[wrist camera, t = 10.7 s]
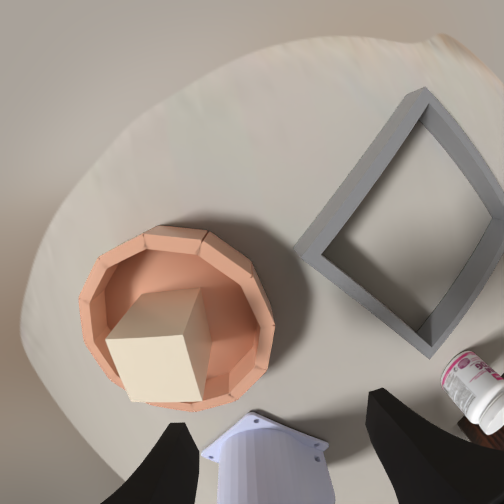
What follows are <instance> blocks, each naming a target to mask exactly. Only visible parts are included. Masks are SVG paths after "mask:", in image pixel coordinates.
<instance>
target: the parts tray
mask: <svg viewBox="0 0 504 504" xmlns="http://www.w3.org/2000/svg"><path fill="white" fill-rule="evenodd" d="M418 119H419V120H420V121H421V122H422V124H423V125H424V126H425V127H426V128H427V129H428V130H429V131H430V133H431V134H432V135H433V136H434V137H435V138H436V139H437V141H438V142H439V143H440V144H441V145H442V147H443V148H444V149H445V150H446V152H447V153H448V154H449V155H450V157H451V158H452V159H453V160H454V162H455V163H456V164H457V166H458V167H459V168H460V170H461V171H462V172H463V174H464V175H465V177H466V178H467V179H468V181H469V182H470V184H471V185H472V186H473V188H474V189H475V191H476V192H477V194H478V195H479V197H480V198H481V200H482V202H483V203H484V205H485V206H486V208H487V209H488V211H489V213H490V214H491V216H492V218H493V219H492V220H491V222H490V224H489V226H488V228H487V230H486V232H485V233H484V235H483V237H482V239H481V241H480V242H479V244H478V246H477V247H476V249H475V251H474V252H473V254H472V256H471V257H470V259H469V261H468V262H467V264H466V265H465V267H464V268H463V270H462V272H461V273H460V275H459V276H458V278H457V279H456V281H455V282H454V284H453V285H452V286H451V288H450V289H449V291H448V292H447V294H446V295H445V296H444V298H443V299H442V300H441V302H440V303H439V305H438V306H437V307H436V309H435V310H434V311H433V313H432V314H431V315H430V316H429V318H428V319H427V320H426V321H425V323H424V324H423V325H422V326H421V328H420V329H419V330H418V331H417V333H416V332H415V331H414V330H413V329H412V328H411V327H409V326H408V325H407V324H406V323H405V322H404V321H402V320H401V319H400V318H399V317H398V316H397V315H395V314H394V313H393V312H392V311H391V310H390V309H388V308H387V307H386V306H385V305H384V304H382V303H381V302H380V301H379V300H378V299H376V298H375V297H374V296H373V295H372V294H370V293H369V292H368V291H367V290H366V289H364V288H363V287H362V286H361V285H360V284H358V283H357V282H356V281H355V280H353V279H352V278H351V277H350V276H349V275H347V274H346V273H345V272H344V271H342V270H341V269H340V268H339V267H337V266H336V265H335V264H334V263H332V262H331V261H330V260H329V259H327V258H326V257H325V256H324V255H322V253H323V251H324V250H325V249H326V248H327V246H328V245H329V244H330V242H331V241H332V240H333V239H334V237H335V236H336V235H337V233H338V232H339V231H340V229H341V228H342V227H343V225H344V224H345V223H346V222H347V220H348V219H349V218H350V216H351V215H352V214H353V212H354V211H355V210H356V208H357V207H358V205H359V204H360V203H361V201H362V200H363V199H364V197H365V196H366V195H367V193H368V192H369V190H370V189H371V188H372V186H373V185H374V184H375V182H376V181H377V179H378V178H379V176H380V175H381V174H382V172H383V171H384V169H385V168H386V167H387V165H388V164H389V162H390V161H391V159H392V158H393V157H394V155H395V154H396V152H397V151H398V149H399V148H400V146H401V145H402V143H403V142H404V140H405V139H406V137H407V136H408V134H409V133H410V131H411V130H412V128H413V127H414V125H415V124H416V122H417V121H418ZM293 249H294V250H295V251H296V253H297V254H298V255H299V257H300V258H301V259H303V260H304V261H305V262H306V263H308V264H309V265H310V266H312V267H313V268H314V269H316V270H317V271H318V272H320V273H321V274H322V275H324V276H325V277H326V278H327V279H329V280H330V281H331V282H333V283H334V284H335V285H336V286H338V287H339V288H340V289H342V290H343V291H344V292H346V293H347V294H348V295H349V296H351V297H352V298H353V299H355V300H356V301H357V302H358V303H360V304H361V305H362V306H363V307H365V308H366V309H367V310H369V311H370V312H371V313H372V314H374V315H375V316H376V317H377V318H379V319H380V320H381V321H382V322H384V323H385V324H386V325H387V326H389V327H390V328H391V329H392V330H394V331H395V332H396V333H397V334H399V335H400V336H401V337H402V338H404V339H405V340H406V341H407V342H409V343H410V344H411V345H412V346H414V347H415V348H416V349H417V350H418V351H420V352H421V353H422V354H423V355H425V356H426V357H427V358H428V359H429V360H430V358H431V357H432V356H433V355H434V354H435V353H436V351H437V350H438V349H439V348H440V347H441V345H442V344H443V343H444V342H445V340H446V339H447V338H448V337H449V335H450V334H451V333H452V331H453V330H454V329H455V327H456V326H457V325H458V323H459V322H460V321H461V319H462V318H463V317H464V315H465V314H466V312H467V311H468V310H469V308H470V307H471V305H472V304H473V302H474V301H475V299H476V298H477V296H478V295H479V293H480V292H481V290H482V289H483V287H484V285H485V284H486V282H487V281H488V279H489V277H490V276H491V274H492V272H493V271H494V269H495V267H496V265H497V264H498V262H499V260H500V258H501V256H502V255H503V253H504V192H503V190H502V189H501V187H500V185H499V183H498V182H497V180H496V178H495V177H494V175H493V174H492V172H491V170H490V169H489V167H488V166H487V164H486V163H485V161H484V159H483V158H482V156H481V155H480V154H479V152H478V151H477V149H476V148H475V146H474V145H473V144H472V142H471V141H470V139H469V138H468V137H467V135H466V134H465V133H464V131H463V130H462V129H461V127H460V126H459V125H458V124H457V122H456V121H455V120H454V119H453V117H452V116H451V115H450V114H449V113H448V111H447V110H446V109H445V108H444V107H443V105H442V104H441V103H440V102H439V101H438V100H437V99H436V98H435V96H434V95H433V94H432V93H431V92H430V91H429V90H428V89H427V88H426V87H423V88H420V89H418V90H416V91H414V92H411V93H409V94H407V95H406V96H405V98H404V99H403V100H402V102H401V103H400V105H399V106H398V107H397V109H396V110H395V112H394V113H393V115H392V116H391V117H390V119H389V120H388V122H387V123H386V124H385V126H384V127H383V129H382V130H381V131H380V133H379V134H378V136H377V137H376V138H375V140H374V141H373V142H372V144H371V145H370V147H369V148H368V149H367V151H366V152H365V153H364V155H363V156H362V157H361V159H360V160H359V162H358V163H357V164H356V166H355V167H354V168H353V170H352V171H351V172H350V174H349V175H348V176H347V178H346V179H345V180H344V182H343V183H342V184H341V186H340V187H339V188H338V190H337V191H336V192H335V194H334V195H333V196H332V198H331V199H330V200H329V202H328V203H327V204H326V206H325V207H324V208H323V210H322V211H321V212H320V213H319V215H318V216H317V217H316V219H315V220H314V221H313V223H312V224H311V225H310V227H309V228H308V229H307V230H306V232H305V233H304V234H303V236H302V237H301V238H300V239H299V241H298V242H297V243H296V245H295V246H294V247H293Z"/></svg>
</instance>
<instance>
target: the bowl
mask: <svg viewBox="0 0 504 504" xmlns="http://www.w3.org/2000/svg"><path fill="white" fill-rule="evenodd" d="M197 287H201V292H202V297H203V302H204V307H205V312H206V316H207V321H208V325H209V330H210V335H211V339H212V346H211V352H210V358H209V364H208V370H207V376H206V382H205V388H204V395H203V401H196V402H146V403H147V404H149V403H150V405H153V406H159V407H164V408H170V409H176V410H182V411H189V412H194V411H195V412H197V411H201V410H205V409H209V408H213V407H216V406H220V405H223V404H227V403H230V402H234V401H236V400H238V399H239V398H240V397H241V396H242V395H243V394H244V393H245V392H246V391H247V390H248V389H249V388H250V387H251V386H252V385H253V384H254V383H255V382H256V381H257V380H258V379H259V378H260V377H261V376H262V375H263V374H264V373H265V372H266V371H267V369H268V363H269V358H270V353H271V347H272V342H273V336H274V330H275V322H274V318H273V313H272V309H271V305H270V302H269V300H268V297H267V295H266V293H265V291H264V288H263V286H262V284H261V282H260V279H259V277H258V275H257V273H256V270H255V268H254V266H253V264H252V262H251V261H250V260H249V259H248V258H247V257H245V256H244V255H243V254H241V253H240V252H238V251H237V250H236V249H234V248H233V247H231V246H230V245H229V244H227V243H226V242H224V241H223V240H222V239H220V238H219V237H217V236H216V235H215V234H213V233H212V232H210V231H209V233H208V230H201V229H191V228H181V227H172V226H162V225H159V226H156V227H154V228H152V229H150V230H148V231H146V232H144V233H142V234H140V235H138V236H136V237H134V238H132V239H130V240H128V241H126V242H124V243H122V244H120V245H118V246H117V247H115V248H113V249H111V250H110V251H108V252H106V253H104V254H103V255H101V256H99V257H98V258H97V260H96V262H95V264H94V266H93V268H92V270H91V272H90V274H89V276H88V278H87V280H86V282H85V285H84V287H83V289H82V291H81V293H80V295H79V309H80V317H81V325H82V332H83V338H84V342H85V344H86V346H87V348H88V349H89V351H90V352H91V354H92V355H93V357H94V358H95V360H96V361H97V362H98V364H99V365H100V367H101V368H102V370H103V371H104V372H105V374H106V375H107V377H108V378H109V379H111V381H112V382H114V383H115V384H117V385H118V386H120V387H121V388H123V389H124V390H126V389H125V387H124V385H123V383H122V380H121V378H120V376H119V374H118V371H117V369H116V366H115V364H114V361H113V359H112V356H111V354H110V351H109V349H108V346H107V343H106V341H105V339H106V337H107V336H108V335H109V333H110V332H111V331H112V330H113V328H114V327H115V326H116V325H117V323H118V322H119V321H120V320H121V318H122V317H123V316H124V315H125V314H126V312H127V311H128V310H129V309H130V307H131V306H132V305H133V304H134V303H135V301H136V300H137V299H138V298H139V297H140V295H141V294H145V293H154V292H163V291H172V290H181V289H189V288H197Z"/></svg>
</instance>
